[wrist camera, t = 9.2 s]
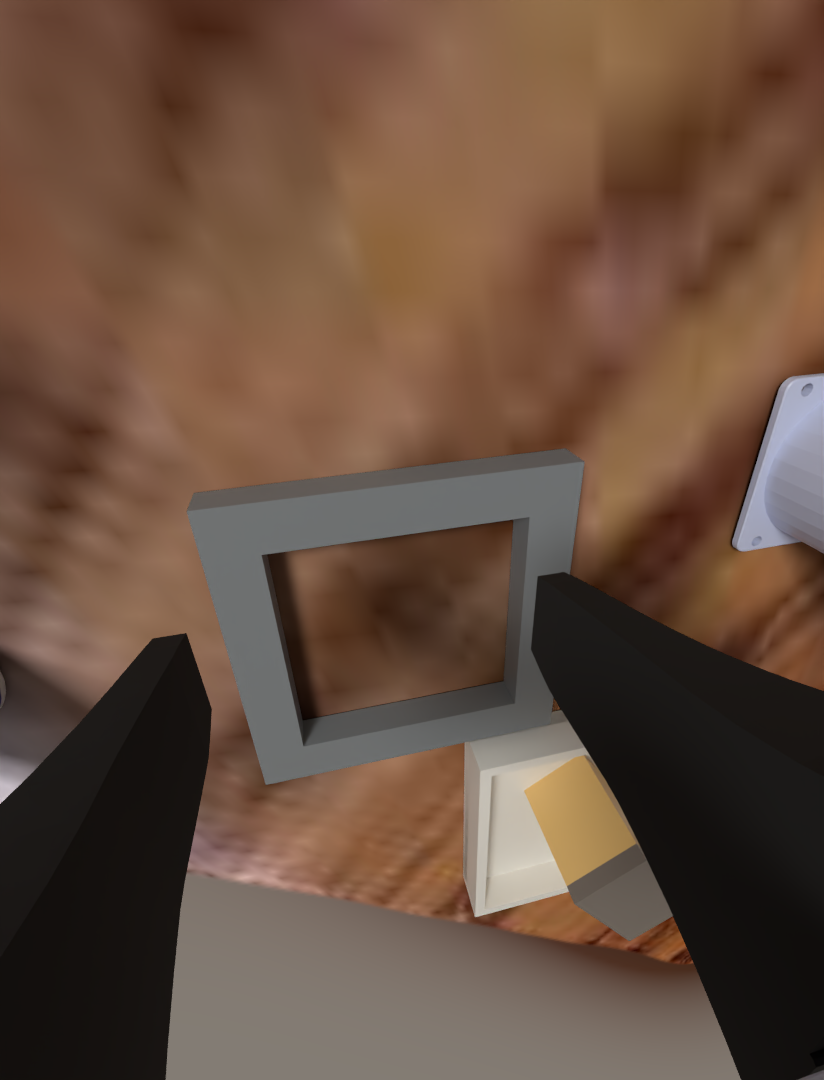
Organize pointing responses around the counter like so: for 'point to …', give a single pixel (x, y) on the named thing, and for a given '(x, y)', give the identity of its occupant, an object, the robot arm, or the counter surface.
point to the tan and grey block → (597, 849)
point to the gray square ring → (371, 513)
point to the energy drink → (2, 690)
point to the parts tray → (511, 815)
